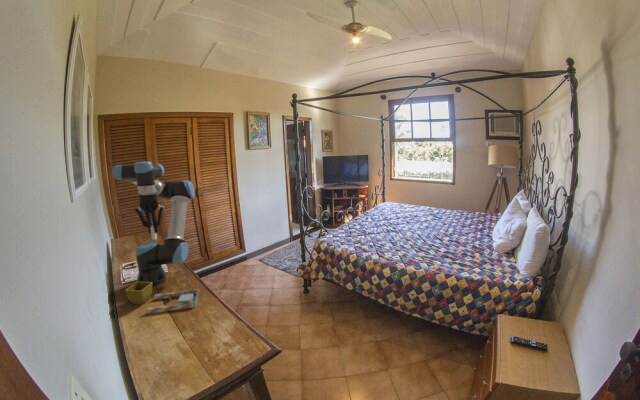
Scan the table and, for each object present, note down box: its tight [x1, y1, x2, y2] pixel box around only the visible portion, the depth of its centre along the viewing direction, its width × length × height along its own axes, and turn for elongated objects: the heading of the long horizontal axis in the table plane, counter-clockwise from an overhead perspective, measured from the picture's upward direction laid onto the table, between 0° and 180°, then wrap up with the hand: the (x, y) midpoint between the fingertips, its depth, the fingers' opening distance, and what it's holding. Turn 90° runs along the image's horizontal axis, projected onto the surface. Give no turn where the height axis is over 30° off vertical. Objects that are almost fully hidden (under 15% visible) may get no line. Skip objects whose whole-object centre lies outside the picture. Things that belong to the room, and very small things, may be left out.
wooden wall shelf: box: [145, 288, 201, 315], centre depth 145 cm, size 22×13×3 cm, turn 103°
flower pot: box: [124, 281, 153, 305], centre depth 146 cm, size 9×9×9 cm
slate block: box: [177, 294, 195, 304], centre depth 144 cm, size 6×6×4 cm
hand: (154, 239), depth 145 cm, fingers closed
